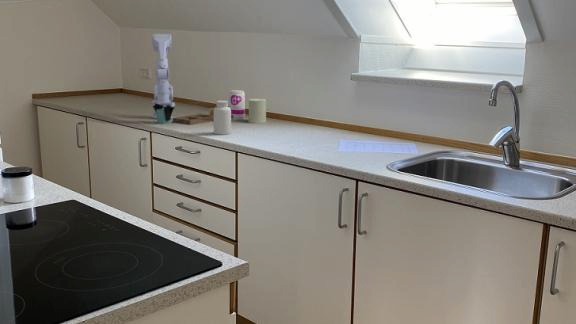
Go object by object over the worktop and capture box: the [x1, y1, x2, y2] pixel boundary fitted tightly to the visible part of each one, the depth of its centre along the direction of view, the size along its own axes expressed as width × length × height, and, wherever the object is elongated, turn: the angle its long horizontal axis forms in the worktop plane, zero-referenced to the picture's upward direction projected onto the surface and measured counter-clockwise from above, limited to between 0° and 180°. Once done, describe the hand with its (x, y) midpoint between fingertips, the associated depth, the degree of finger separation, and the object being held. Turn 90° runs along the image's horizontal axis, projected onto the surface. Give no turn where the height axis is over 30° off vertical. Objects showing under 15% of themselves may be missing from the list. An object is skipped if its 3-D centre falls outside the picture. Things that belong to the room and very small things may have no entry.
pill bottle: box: [213, 100, 232, 136], centre depth 280 cm, size 8×8×15 cm
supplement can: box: [228, 89, 246, 121], centre depth 323 cm, size 8×8×15 cm
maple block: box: [208, 107, 215, 116], centre depth 328 cm, size 5×5×7 cm
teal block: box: [156, 108, 172, 125], centre depth 308 cm, size 5×5×7 cm
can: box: [248, 98, 267, 124], centre depth 315 cm, size 9×9×12 cm
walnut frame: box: [172, 113, 214, 126], centre depth 316 cm, size 13×20×2 cm, turn 143°
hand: (164, 119), depth 309 cm, fingers open, 6 cm apart
